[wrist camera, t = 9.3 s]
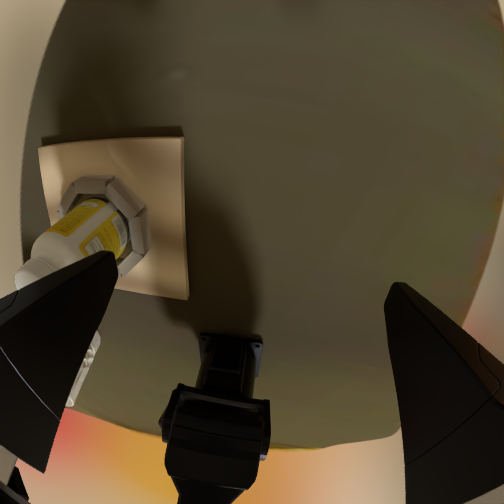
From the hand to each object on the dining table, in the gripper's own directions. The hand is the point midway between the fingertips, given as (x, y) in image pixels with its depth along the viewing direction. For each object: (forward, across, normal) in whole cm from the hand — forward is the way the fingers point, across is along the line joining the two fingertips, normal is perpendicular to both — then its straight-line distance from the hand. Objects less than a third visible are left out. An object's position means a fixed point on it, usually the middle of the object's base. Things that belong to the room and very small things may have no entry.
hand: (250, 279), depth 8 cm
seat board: (+12, +13, +5) cm, 19 cm away
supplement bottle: (+12, +13, +5) cm, 18 cm away
